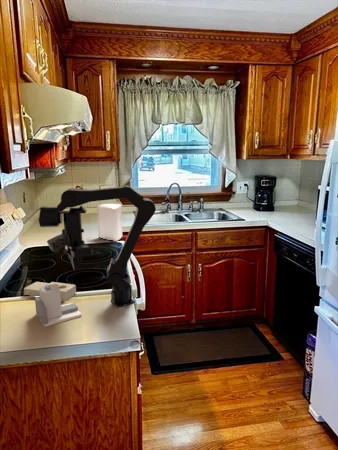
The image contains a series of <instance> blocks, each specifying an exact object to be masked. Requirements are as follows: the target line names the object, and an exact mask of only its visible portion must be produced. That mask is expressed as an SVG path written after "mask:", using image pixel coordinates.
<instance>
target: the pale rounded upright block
mask: <svg viewBox="0 0 338 450" xmlns="http://www.w3.org/2000/svg"><path fill="white" fill-rule="evenodd" d="M96 208H97V209H96V211H97V229H98V231H97V232H98V233H97V235H98V238H99V237H101V238H104V239H108V240H113V241H112V242H117V241H119V240H121V238H123V219H122V217H123V215H122V214H123V213H122V212H123V211H122V204H119V203H101V204H98V205H97V206H96ZM108 240H107V241H108Z"/></svg>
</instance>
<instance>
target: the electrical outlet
mask: <svg viewBox="0 0 338 450" xmlns="http://www.w3.org/2000/svg"><path fill="white" fill-rule="evenodd" d="M52 284H55V285H56V286H57V287H58V288H59V289H60V296H61V302H67V301H69V300H70V299H71V298H73V297H74V296H75V295H76V294H77V285H75V284H73V283H72V284H71V283H64V282H55V281H51V282H50V283H49V282H42V281H41V282H40V281H35V282H33V283H31V284H29V285H28V286H26V287H24V288H23V292H24V293H23V294H24V295H23V296H25V295H30V296H29V297H32V296H40V288H39V287H43V286H45V285H52ZM75 293H76V294H75ZM74 294H75V295H74Z"/></svg>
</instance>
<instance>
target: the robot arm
mask: <svg viewBox="0 0 338 450" xmlns="http://www.w3.org/2000/svg"><path fill="white" fill-rule="evenodd" d="M62 192H63V193H61V196H60V202H59V203H58V204H57V205H56V206H41V207H40V208H39V210H40V211H39V217H38V223H39V224H38V225H39V227H40V228H55V227H56V228H57V227H58V228H59V227H60V224H63V228H62V229H61V233H60V234H58V235H56V236H55V235H54V237H52V238H50V239H48V240H47V241H46V242H47V245H48V247H49V249H50V251H52V252H53V253H56V252H58V251H59V250H60V249H62V248H64V249H63V252H64V253H65V254H67V255H68V257H69V260H70V263H71V267H72V268H73V270H74V271H78V270H79V267H80V266H81V262H82V260H83V258H84V257H90V256H93V254H94V250H93V247H90V246H89V245H87V244H86V243H85V240H84V239H83V233H84V232H85V230H84V228H82V227H83V225H82V214H86V213H87V211H88V210H87V209H86V208H85V207H83V205H84V204H88V203H91V202H99V201H109V200H111V201H112V200H117V199H118V200H119V199H126V200H127V201H128V202H129V203H131V204H132V205H133V206H134V207H135V208H136V210H135V215H134V220H133V223H132V225H131V226H130V229H129V232H128V234H127V235H126V238H125V240H124V242H123V244H122V247H121V249H120V252H119V253H118V256H117V257H116V258H113V257H111V258H110V262H109V265H108V266H107V268H106V275H107V277H106V278H107V282H108V283H109V284H110V285H112V286H111V289H112V290H111V292H110V295H111V299H110V302H111V303H113V304H114V305H115V306H116V307H118V308H120V307H123V306H127V305H130V304H133V303H135V300H134V299H133V289H132V288H133V287H132V284H131V279H130V275H129V274H128V272H127V268H128V263H129V260H130V258H131V256H132V254H133V251H134V249H135V247H136V245H137V242H138V241H139V239H140V236H141V234H142V232H143V230H144V228H145V226H146V225H147V224H148V223H149V221H150V220H151V219H152V217H153V215H154V214H155V213H156V205H155V203H154V202H153V200H152V199H151V198H147V197H144V196H143V195H142V194H140V193H139V192H137V191H135V189H133V188H132V186H130V185H123V186H114V187H106V188H97V189H84V188H75V187H74V188H73V187H71V188H68V189H66V190H65V191H62ZM67 208H68V209H69V210H66V209H67Z"/></svg>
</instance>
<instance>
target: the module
mask: <svg viewBox="0 0 338 450" xmlns="http://www.w3.org/2000/svg"><path fill="white" fill-rule="evenodd" d="M39 288H40V299H41V301H42V302H43V304H44V305H45V306H46V308H47V317H48V319H51V318H54V317H58V316H62V309H61V306H62V301H61V296H60V289H59V288H58V287H57V286H56V285H55V284H52V285H45V286H43V287H39Z"/></svg>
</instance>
